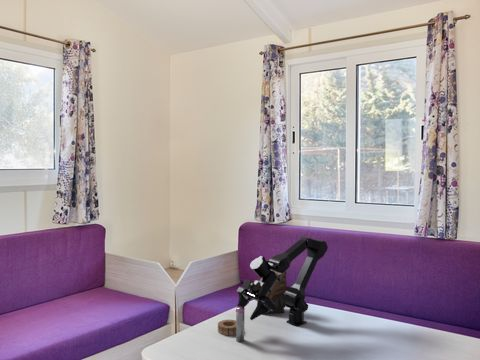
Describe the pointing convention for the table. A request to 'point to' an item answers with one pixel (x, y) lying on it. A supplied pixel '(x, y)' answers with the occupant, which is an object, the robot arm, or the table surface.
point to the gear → (227, 327)
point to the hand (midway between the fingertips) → (243, 315)
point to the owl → (278, 294)
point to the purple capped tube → (240, 324)
